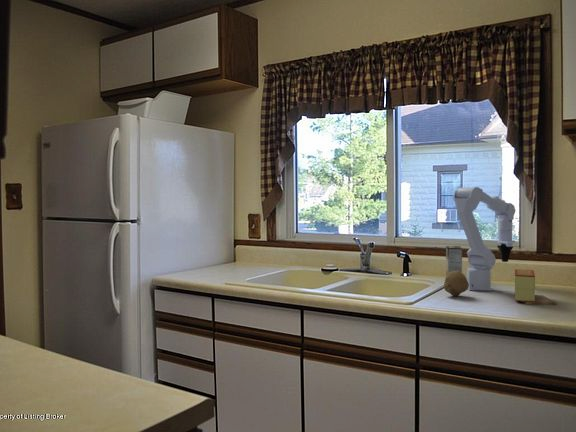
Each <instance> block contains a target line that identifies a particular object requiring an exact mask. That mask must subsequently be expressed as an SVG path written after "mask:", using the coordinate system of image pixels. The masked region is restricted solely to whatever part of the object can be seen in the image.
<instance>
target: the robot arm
mask: <svg viewBox="0 0 576 432" xmlns="http://www.w3.org/2000/svg"><path fill="white" fill-rule="evenodd" d="M452 198H453V201H454V205H455V206H456V211H457V212H456V213H457V215H458V219H459V221H460V223H461V226H462V229H463V232H464V234H465V237H466V240H467V242H468V245H469V249H468V250H467V251H466V255H467V260H468V264H469V265H470V267H469V268H467V269H466V275H465V277H466V279H467V281H468V283H469V287H468V289H467V290H469V291H484V292H485V291H494V288H492V287H491V286H492V281H491V279H492V269H493V267H494V266H495V264H496V256H495V254H494V253H493V252H492V250H491V248H489V247H488V246H487V245H485V244H484V240H483V239H482V236H481V231H480V229H479V227H478V224H477V222H476V219H475V216H474V211H475V210H476V209H477V208H478V205H479V204H480V202H481V203H483V204H486V207H487V209H489V210H491V211H493V212H494V213H495V215H496V216H497V240H496V241H497V244H499V245H496V246H497V247H496V248H498V250H499V251H498V252H499V254H500V258H501V259H500V260H501V262H502V263H508V262H509V260H510V259H509V258H510V254H511V252H512V250H513V248H514V247H513V243H516V240H514V239H513V220H514V216H515V214H516V211H517V210H516V207H515V205H514V204H513V203H511V202H506V200H504V199H501V198H500V197H499V196H498V195H494V196H491V195H489V194H487V193H486V192H485V191H484V190H483V188H480V187H478V186H474V187H460V186H459V187H457V188H456V189H455V191H454V193H453V197H452Z"/></svg>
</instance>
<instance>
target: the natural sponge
mask: <svg viewBox="0 0 576 432" xmlns="http://www.w3.org/2000/svg"><path fill="white" fill-rule="evenodd" d="M468 287H469V283H468V281H467V279H466V275H465V274H464V273H463V272H462V273H461V272H460V271H452V272H450V273H448V275H447V276H446V275H445V280H444V283H443V288H444V290H445V292H446V293H448V294H450V295H451V296H452V297H458V296H460V295H461V294H463V293H464V292H466V291H467V290H469V289H468Z"/></svg>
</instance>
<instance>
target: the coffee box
mask: <svg viewBox="0 0 576 432" xmlns="http://www.w3.org/2000/svg"><path fill="white" fill-rule="evenodd" d="M462 267H463V248H462V247H461V246H460V245H446V246H445V274H446V275H445V277H446V276H447V275H448V273H450V272H452V271H460V272H461V273H463V268H462Z"/></svg>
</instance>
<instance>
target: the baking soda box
mask: <svg viewBox="0 0 576 432" xmlns="http://www.w3.org/2000/svg"><path fill="white" fill-rule="evenodd" d="M535 287H536V274H535V270H534V269H522V268H521V269H517V268H515V269H514V301H515V302H522V301H525V302H535V295H536V293H535V292H536V288H535Z"/></svg>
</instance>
